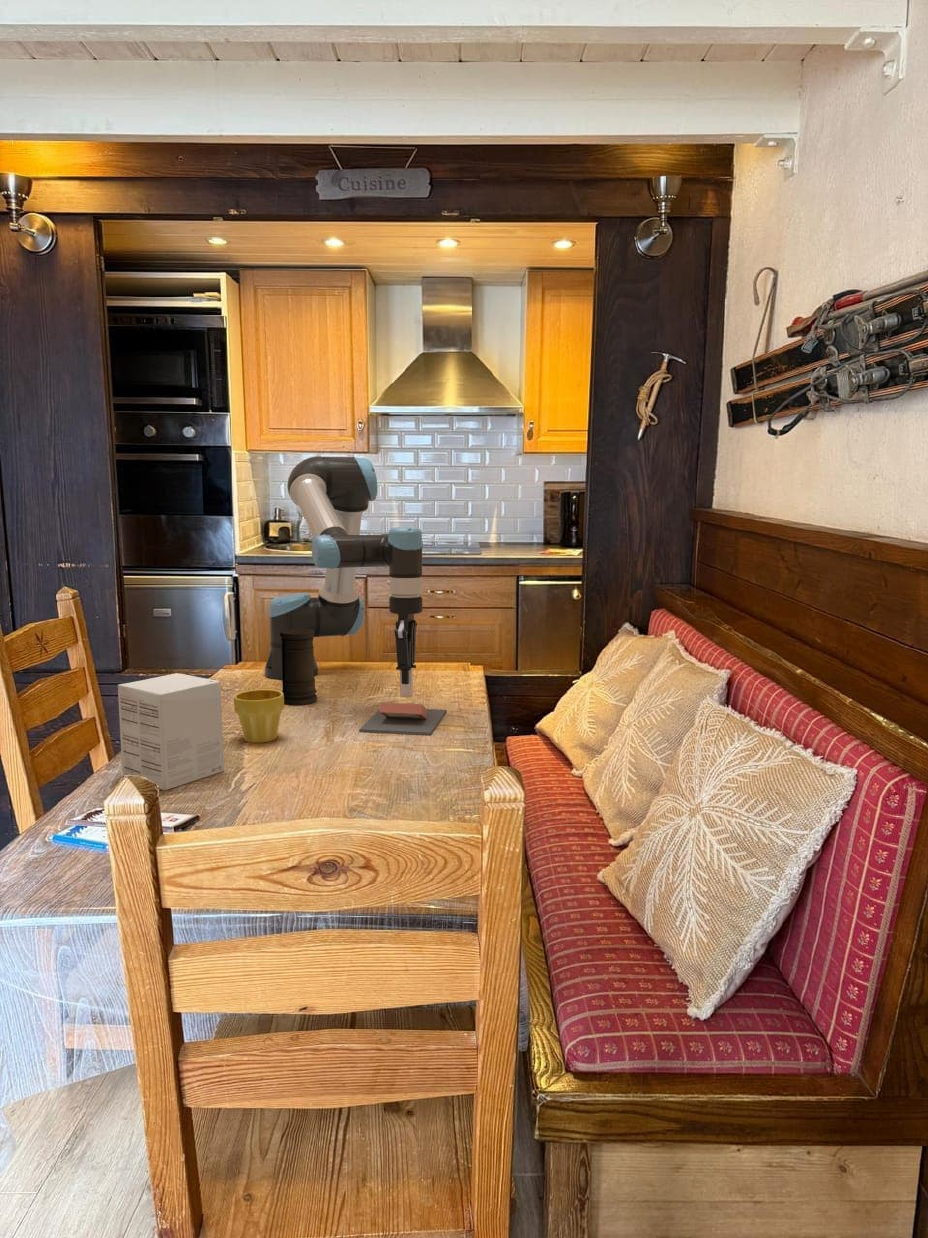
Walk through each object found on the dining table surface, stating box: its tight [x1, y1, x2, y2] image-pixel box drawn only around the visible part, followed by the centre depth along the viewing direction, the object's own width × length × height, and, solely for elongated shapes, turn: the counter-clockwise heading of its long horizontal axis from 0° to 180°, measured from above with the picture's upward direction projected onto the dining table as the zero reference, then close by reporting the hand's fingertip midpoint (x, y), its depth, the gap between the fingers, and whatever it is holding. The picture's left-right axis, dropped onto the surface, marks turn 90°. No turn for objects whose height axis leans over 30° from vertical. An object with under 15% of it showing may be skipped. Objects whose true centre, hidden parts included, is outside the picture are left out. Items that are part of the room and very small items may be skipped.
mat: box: [359, 708, 448, 736], centre depth 193 cm, size 20×16×1 cm
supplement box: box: [117, 672, 225, 791], centre depth 154 cm, size 13×13×18 cm
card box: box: [379, 702, 428, 719], centre depth 190 cm, size 2×10×6 cm
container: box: [280, 629, 318, 706], centre depth 210 cm, size 9×9×18 cm
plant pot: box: [233, 688, 285, 744], centre depth 178 cm, size 10×10×10 cm
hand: (406, 696), depth 193 cm, fingers closed
